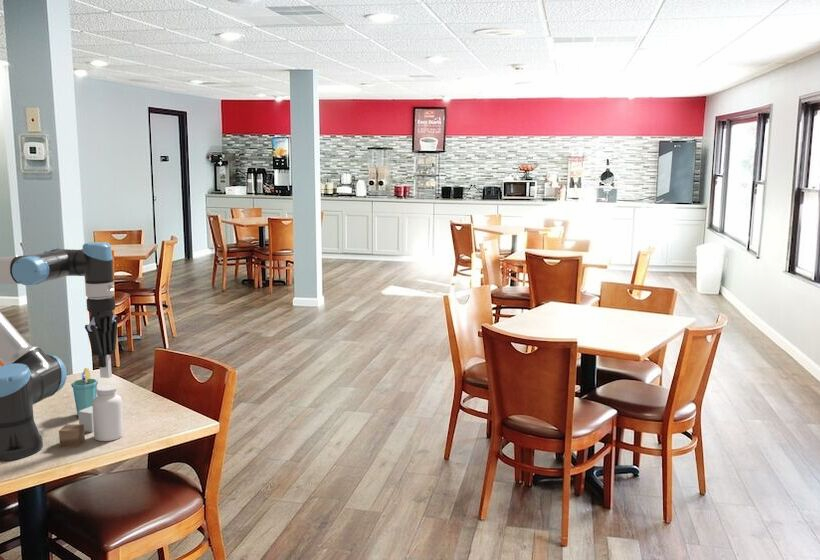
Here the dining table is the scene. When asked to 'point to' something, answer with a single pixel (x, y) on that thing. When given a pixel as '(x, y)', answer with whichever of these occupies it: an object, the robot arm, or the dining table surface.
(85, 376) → the cup
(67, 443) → the walnut cube
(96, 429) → the pill bottle
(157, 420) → the dining table surface
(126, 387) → the dining table surface
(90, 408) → the white block
